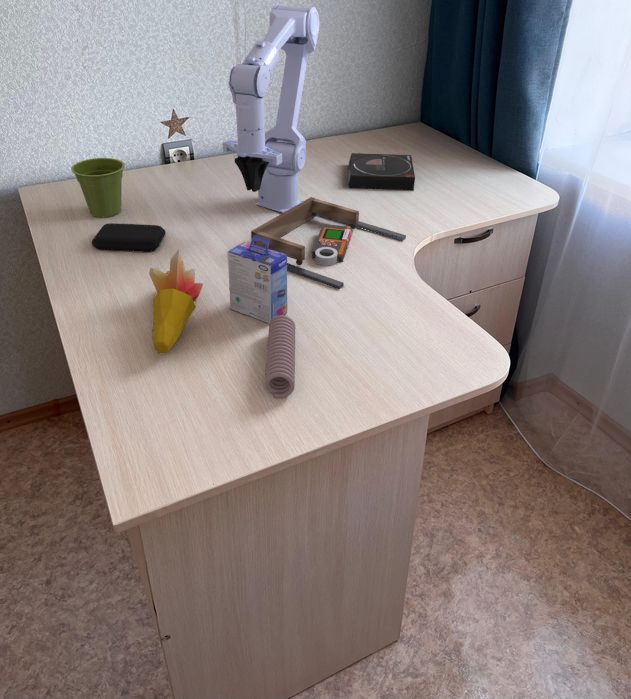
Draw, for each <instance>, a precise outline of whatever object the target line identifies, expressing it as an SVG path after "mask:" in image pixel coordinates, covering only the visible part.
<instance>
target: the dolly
mask: <svg viewBox="0 0 631 699" xmlns="http://www.w3.org/2000/svg"><path fill="white" fill-rule="evenodd" d="M302 201H303V202H301V203H300V204H298V205H296V206H294V207H293V208H291V209H289V210H287V211H286V212H284V213H282V212H281V213H280V214H278V215H277V216H275V217H274V218H272V219H269V220H267V222H264V223H262V224H261V225H259V226H257V227H255V228H254V229H252V230H250V240H251V241H252V238H253V235H256V236H259V237H262V238H265V239H268V240H270V242H269V247H268V249H270V250H274V251H277V252H280V253H284V254H287V258H291V259H293V260H295V264H296V266H302V265H303V262H304V261H305V260H306V246H305V245H303V244H299V243H296V242H294V241H290V240H287V239H284V238H282V236H284V235H287V233H289V232H291V231H293V230H294V229H296V228H298V227H299V226H301V225H303V224H304V223H306V222H307V221H309V220H311V219H313V218H315V217H317V216H318V215H317V214H320V215H323V216H327V217H330V218H333V219H336V220H340V221H343V222H346V223H350V224H351V225H349V227H351V228H352V230H355V229H356V228H357V227H356V225H357V224H358V222H359V221H360V211H359V210H356V209H353V208H349V207H346V206H342V205H338V204H335V203H333V202H332V203H331V202H328V201H325V200H321V199H318V198H316V197H312V196H311V197H309V198H307V199H304V200H302ZM251 241H250V242H251ZM254 244H255V245H258V246H262V247H265V244H264V243H263V242H261V241H255V242H254Z"/></svg>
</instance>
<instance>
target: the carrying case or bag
mask: <svg viewBox="0 0 631 699" xmlns="http://www.w3.org/2000/svg"><path fill="white" fill-rule="evenodd" d="M166 234H167V232H166V230H165V229H164V228H163V227H162V226H161V225H157V224H142V223H141V224H140V223H111V222H110V223H105V224H104V225H103V226H101V227H100V229H99V231H98V232H97V233H96V235H94V237H93V239H91V245H92V247H94V248H95V249H96V250H99V251H113V252H114V251H115V252H116V251H118V252H120V251H121V252H141V253H142V252H143V253H145V252H146V253H152V252H156V250H157V249H158V248H159V247H160V246H161V244H162V241H163V240H164V238H165V236H166Z"/></svg>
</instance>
